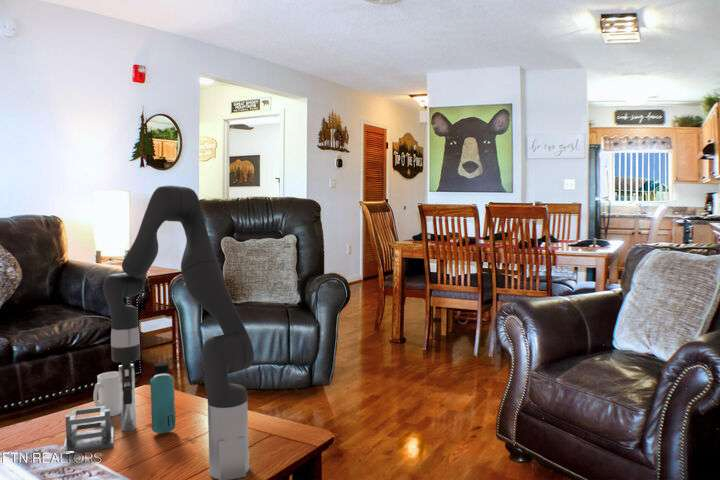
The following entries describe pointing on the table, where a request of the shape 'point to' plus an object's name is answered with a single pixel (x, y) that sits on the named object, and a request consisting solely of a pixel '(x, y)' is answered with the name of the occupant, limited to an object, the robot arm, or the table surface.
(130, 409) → the steel tube
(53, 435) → the table surface
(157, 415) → the beverage bottle
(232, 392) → the robot arm
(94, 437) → the collar stand
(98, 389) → the mug
